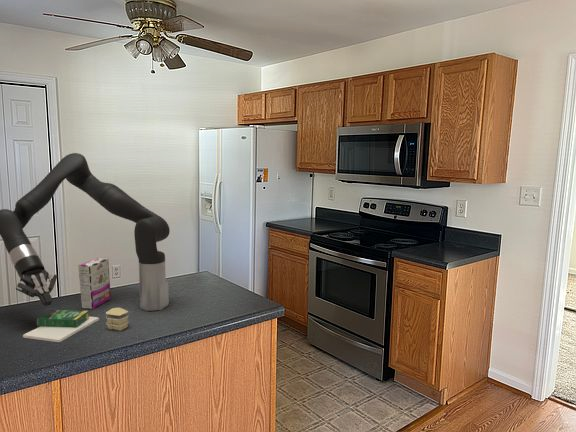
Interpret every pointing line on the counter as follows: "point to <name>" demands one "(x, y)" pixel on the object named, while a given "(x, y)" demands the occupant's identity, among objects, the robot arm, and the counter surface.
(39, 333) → the cutting board
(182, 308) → the counter surface
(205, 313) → the counter surface
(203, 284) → the counter surface
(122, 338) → the counter surface
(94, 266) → the candy bar box
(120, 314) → the layered sandwich
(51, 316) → the coffee box
